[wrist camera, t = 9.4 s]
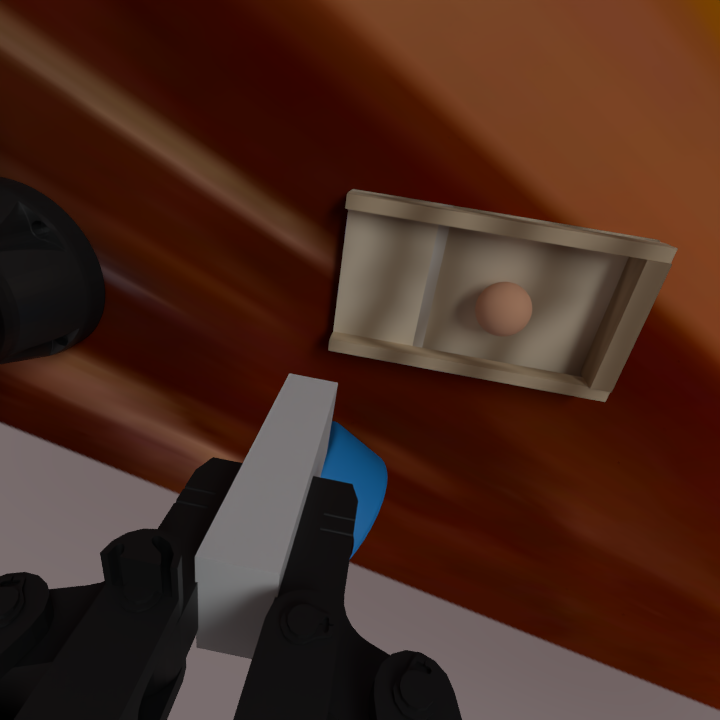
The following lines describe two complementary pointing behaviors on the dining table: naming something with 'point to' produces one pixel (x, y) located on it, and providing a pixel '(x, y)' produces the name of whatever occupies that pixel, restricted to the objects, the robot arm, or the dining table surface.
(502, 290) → the ball
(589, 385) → the lane
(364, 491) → the alarm clock
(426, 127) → the dining table surface
